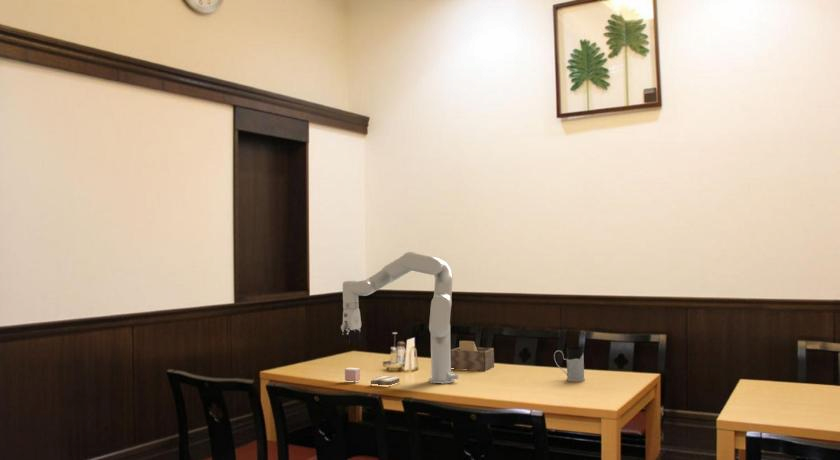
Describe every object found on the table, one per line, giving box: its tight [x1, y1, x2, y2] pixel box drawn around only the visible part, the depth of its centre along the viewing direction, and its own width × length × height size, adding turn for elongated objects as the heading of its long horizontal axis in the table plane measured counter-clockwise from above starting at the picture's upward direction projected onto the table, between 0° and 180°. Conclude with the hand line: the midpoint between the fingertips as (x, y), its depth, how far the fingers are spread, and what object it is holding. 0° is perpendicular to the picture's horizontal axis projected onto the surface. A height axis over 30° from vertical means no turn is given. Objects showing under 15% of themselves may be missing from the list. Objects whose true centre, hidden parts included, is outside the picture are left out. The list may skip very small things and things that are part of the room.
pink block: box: [344, 367, 361, 382], centre depth 325 cm, size 6×4×6 cm, turn 64°
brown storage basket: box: [451, 347, 495, 372], centre depth 357 cm, size 20×14×10 cm
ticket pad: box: [370, 375, 401, 385], centre depth 316 cm, size 10×10×3 cm
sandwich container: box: [458, 340, 478, 371], centre depth 358 cm, size 9×15×15 cm, turn 152°
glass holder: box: [553, 346, 586, 382], centre depth 319 cm, size 9×14×15 cm, turn 78°
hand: (351, 341), depth 325 cm, fingers open, 9 cm apart
